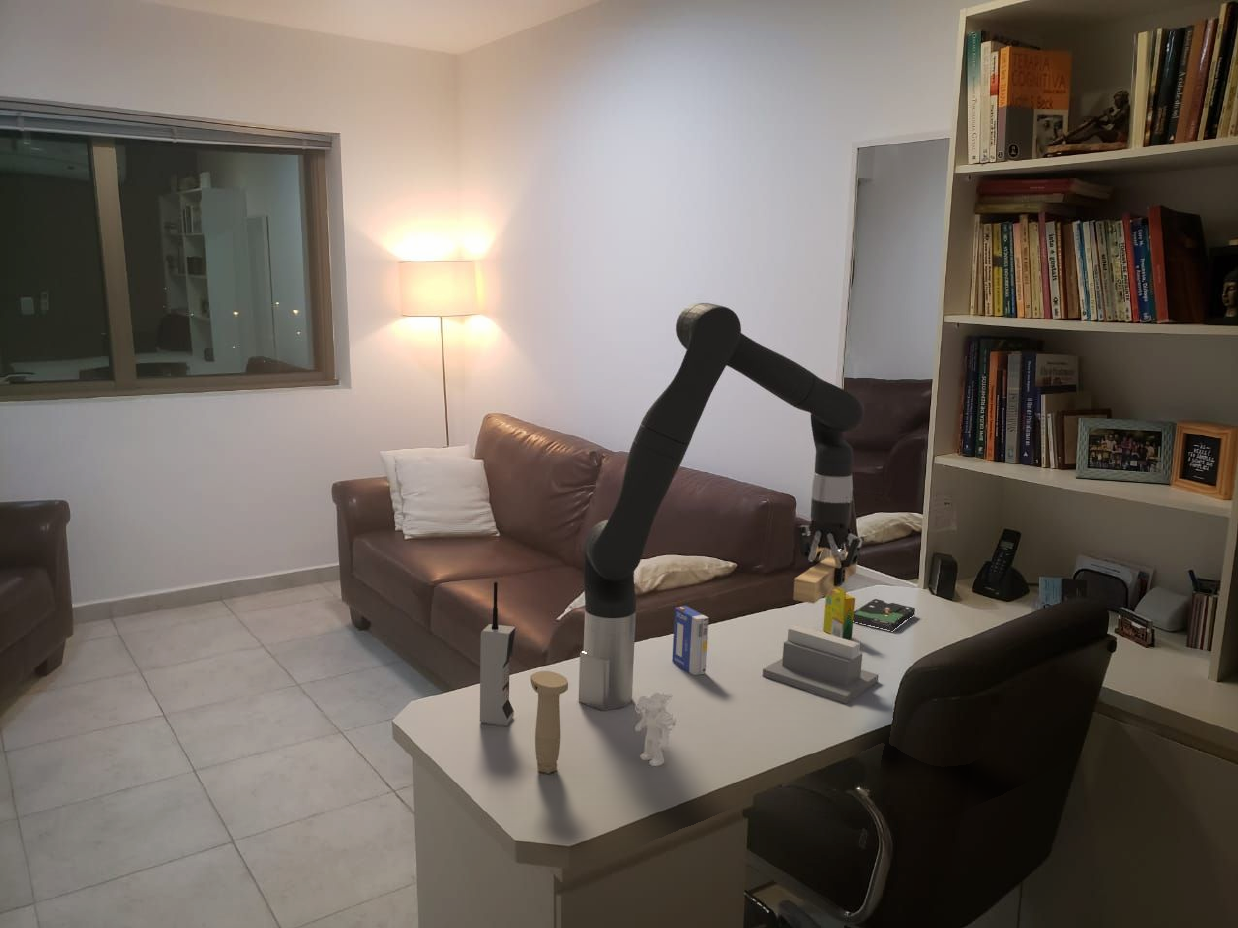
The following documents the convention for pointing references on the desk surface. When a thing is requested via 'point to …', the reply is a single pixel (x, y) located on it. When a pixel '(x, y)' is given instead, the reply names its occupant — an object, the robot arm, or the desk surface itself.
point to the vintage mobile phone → (495, 670)
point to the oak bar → (818, 580)
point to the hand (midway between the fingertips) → (826, 582)
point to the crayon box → (839, 614)
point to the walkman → (690, 640)
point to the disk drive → (883, 614)
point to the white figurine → (655, 726)
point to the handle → (548, 718)
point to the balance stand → (821, 665)
